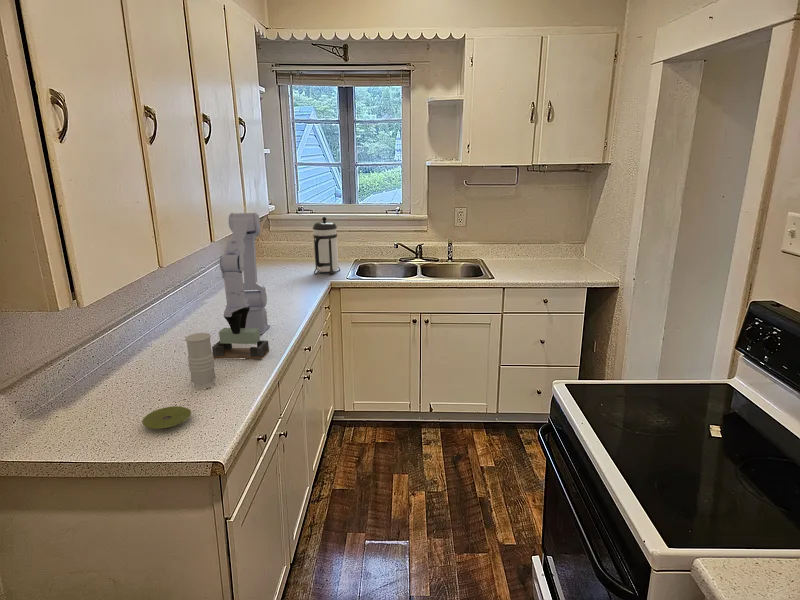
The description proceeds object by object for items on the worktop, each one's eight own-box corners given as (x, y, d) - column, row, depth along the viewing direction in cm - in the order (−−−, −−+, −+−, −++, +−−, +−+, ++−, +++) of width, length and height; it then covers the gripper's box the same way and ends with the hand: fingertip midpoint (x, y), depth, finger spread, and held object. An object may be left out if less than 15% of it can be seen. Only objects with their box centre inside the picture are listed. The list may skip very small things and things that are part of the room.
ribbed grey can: (210, 378, 159) (204, 330, 155) (220, 385, 154) (214, 337, 150) (188, 384, 155) (181, 336, 150) (197, 392, 150) (190, 343, 145)
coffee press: (308, 271, 291) (304, 216, 282) (336, 268, 297) (333, 214, 289) (317, 278, 276) (313, 220, 267) (346, 274, 282) (343, 218, 274)
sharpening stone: (225, 339, 177) (223, 327, 176) (259, 339, 176) (258, 328, 175) (220, 343, 173) (218, 331, 172) (255, 344, 172) (254, 332, 171)
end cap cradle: (222, 350, 180) (221, 339, 179) (269, 351, 178) (268, 340, 177) (213, 358, 174) (211, 347, 172) (261, 359, 172) (260, 348, 171)
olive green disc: (178, 408, 141) (177, 401, 140) (200, 422, 134) (199, 415, 133) (135, 425, 133) (134, 418, 132) (156, 440, 126) (155, 433, 125)
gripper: (237, 297, 162) (242, 339, 166) (255, 285, 176) (258, 324, 180) (215, 297, 163) (220, 338, 167) (234, 285, 177) (238, 323, 181)
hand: (239, 331), depth 174 cm, fingers closed on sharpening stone, 4 cm apart
